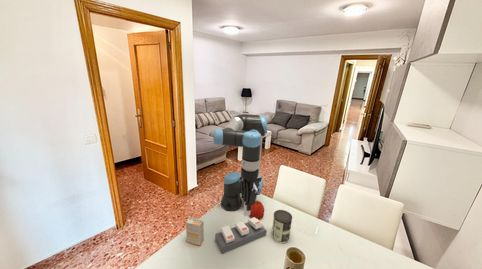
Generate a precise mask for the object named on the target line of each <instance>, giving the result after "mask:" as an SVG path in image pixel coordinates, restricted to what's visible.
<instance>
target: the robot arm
mask: <svg viewBox="0 0 482 269" xmlns="http://www.w3.org/2000/svg"><path fill="white" fill-rule="evenodd" d="M266 134H268V119H267V116H265V115H263V114H262V115H261V114H246V113H244V114H243V113H242V114H237V115H235V116H233V117H231V118H230V119H229V121H228V124H226V126H225V127H223V128H215V129H214V131H213V135H212V138H213V139H212V140H213V143H214V145H217V146H225V147H226V146H227V147H228V146H230V147H239V148H242V152H241V153H242V154H241V168H240V172H237V171H233V172H229V173H226V174H225V175H224V177H223V195H222V197H221V200H220V206H221V208H222V209H224V210H226V211H228V212H229V211H231V212H235V211H238V210H239V209H241V208H242V207H243V216H244V217H245V218H246V217H248V216H250V210H251V205H254V204H255V201H257V196H260V195H261V193H262V189H263V186H264V177H263V176H262V174H261V158H262V146H263V138H265V137H266ZM242 199H243V200H242Z"/></svg>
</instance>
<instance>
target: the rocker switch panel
mask: <svg viewBox="0 0 482 269" xmlns="http://www.w3.org/2000/svg"><path fill="white" fill-rule="evenodd" d="M243 223H244V222H243ZM244 224H245V225H246V226H247V227H248V228H249V233H248V234H245V235H243V236H242V235H241V234H240V233H239V231H238V230H237V229H236V228H235V226H234V227H230V229H231V231H232V233H233V235H234V237H235V239H234V241H232V242H229V243H226V241H225V239H224V236H223V234H222V232H221V231H219V232H217V233H215V234H214V240H215V242H216V244H217V246H218V248H219V250H220V252H221V254H222V255H223V254H225V253H228V252H230V251H233V250H234V249H237V248H240V247H242V246H244V245H247V244H249V243H251V242H254V241H256V240H258V239H261V238H265V237H267V234H268V229H267V228H266V226H265V225H264V224H263V223H262V227H260V228H258V229H255V228H254V227H253V226H251V225H250V224H249V223H248V221H247V222H245V223H244Z"/></svg>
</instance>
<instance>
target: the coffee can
mask: <svg viewBox="0 0 482 269" xmlns="http://www.w3.org/2000/svg"><path fill="white" fill-rule="evenodd" d="M272 221H273V222H272V230H271V237H272V239H273V240H274V241H275V242H277V243H280V244H287V243H288V242H289V241H290V236H291V228H292V223H293V222H292V221H293V215H292V213H290V212H289V211H288V210H285V209H277V210H275V211H274V212H273V220H272Z"/></svg>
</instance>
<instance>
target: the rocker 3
mask: <svg viewBox="0 0 482 269" xmlns="http://www.w3.org/2000/svg"><path fill="white" fill-rule="evenodd" d="M247 222H248V223H249V224H250V225H251V226H253V227H254V228H255V229H258V228H260V227H262V224H263V222H262V221H260V219H256V218H255V217H254V218H252V217H250V218H248V219H247Z"/></svg>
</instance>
